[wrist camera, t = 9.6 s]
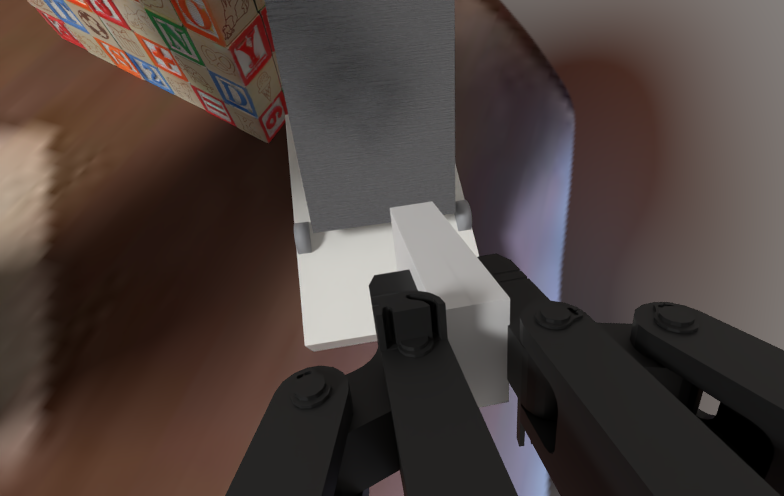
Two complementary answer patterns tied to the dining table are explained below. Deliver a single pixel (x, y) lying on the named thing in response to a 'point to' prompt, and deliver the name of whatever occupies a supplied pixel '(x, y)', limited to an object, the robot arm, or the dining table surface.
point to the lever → (368, 104)
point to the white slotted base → (347, 267)
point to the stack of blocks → (186, 51)
